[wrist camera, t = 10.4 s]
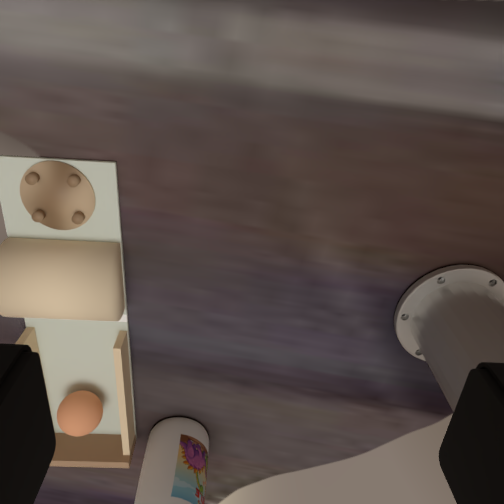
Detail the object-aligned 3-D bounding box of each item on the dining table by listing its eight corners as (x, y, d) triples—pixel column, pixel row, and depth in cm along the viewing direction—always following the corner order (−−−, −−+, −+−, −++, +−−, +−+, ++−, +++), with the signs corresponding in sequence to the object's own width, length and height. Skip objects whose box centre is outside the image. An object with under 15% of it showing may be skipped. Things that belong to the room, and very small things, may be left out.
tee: (91, 162, 41) (88, 166, 40) (98, 230, 44) (95, 235, 43) (15, 158, 40) (9, 161, 39) (27, 227, 44) (22, 231, 43)
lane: (122, 154, 43) (99, 180, 36) (140, 421, 60) (127, 475, 53) (6, 147, 43) (-41, 172, 36) (57, 419, 60) (32, 473, 53)
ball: (100, 388, 51) (92, 436, 49) (110, 393, 55) (103, 437, 53) (55, 387, 50) (45, 435, 48) (69, 392, 55) (61, 436, 53)
